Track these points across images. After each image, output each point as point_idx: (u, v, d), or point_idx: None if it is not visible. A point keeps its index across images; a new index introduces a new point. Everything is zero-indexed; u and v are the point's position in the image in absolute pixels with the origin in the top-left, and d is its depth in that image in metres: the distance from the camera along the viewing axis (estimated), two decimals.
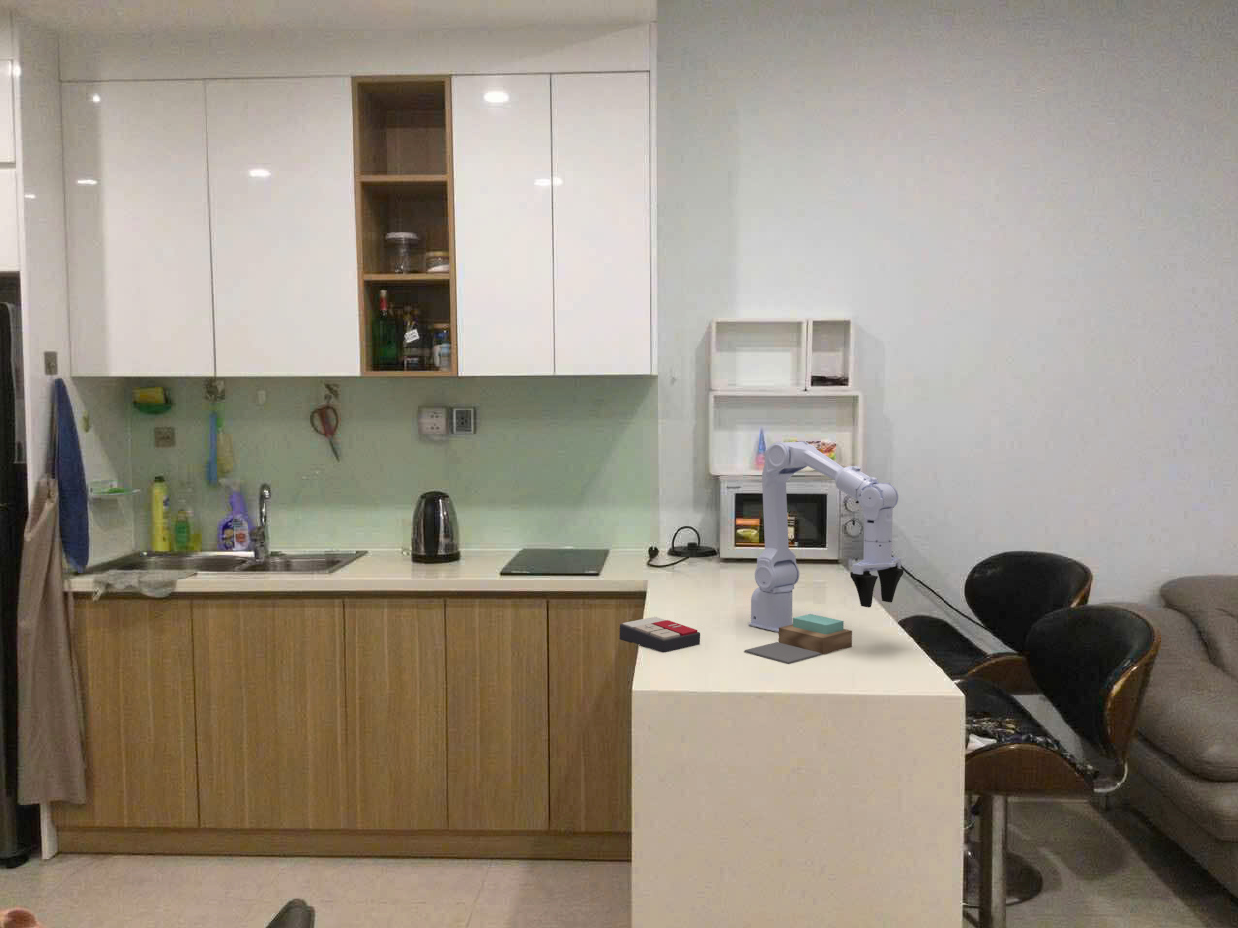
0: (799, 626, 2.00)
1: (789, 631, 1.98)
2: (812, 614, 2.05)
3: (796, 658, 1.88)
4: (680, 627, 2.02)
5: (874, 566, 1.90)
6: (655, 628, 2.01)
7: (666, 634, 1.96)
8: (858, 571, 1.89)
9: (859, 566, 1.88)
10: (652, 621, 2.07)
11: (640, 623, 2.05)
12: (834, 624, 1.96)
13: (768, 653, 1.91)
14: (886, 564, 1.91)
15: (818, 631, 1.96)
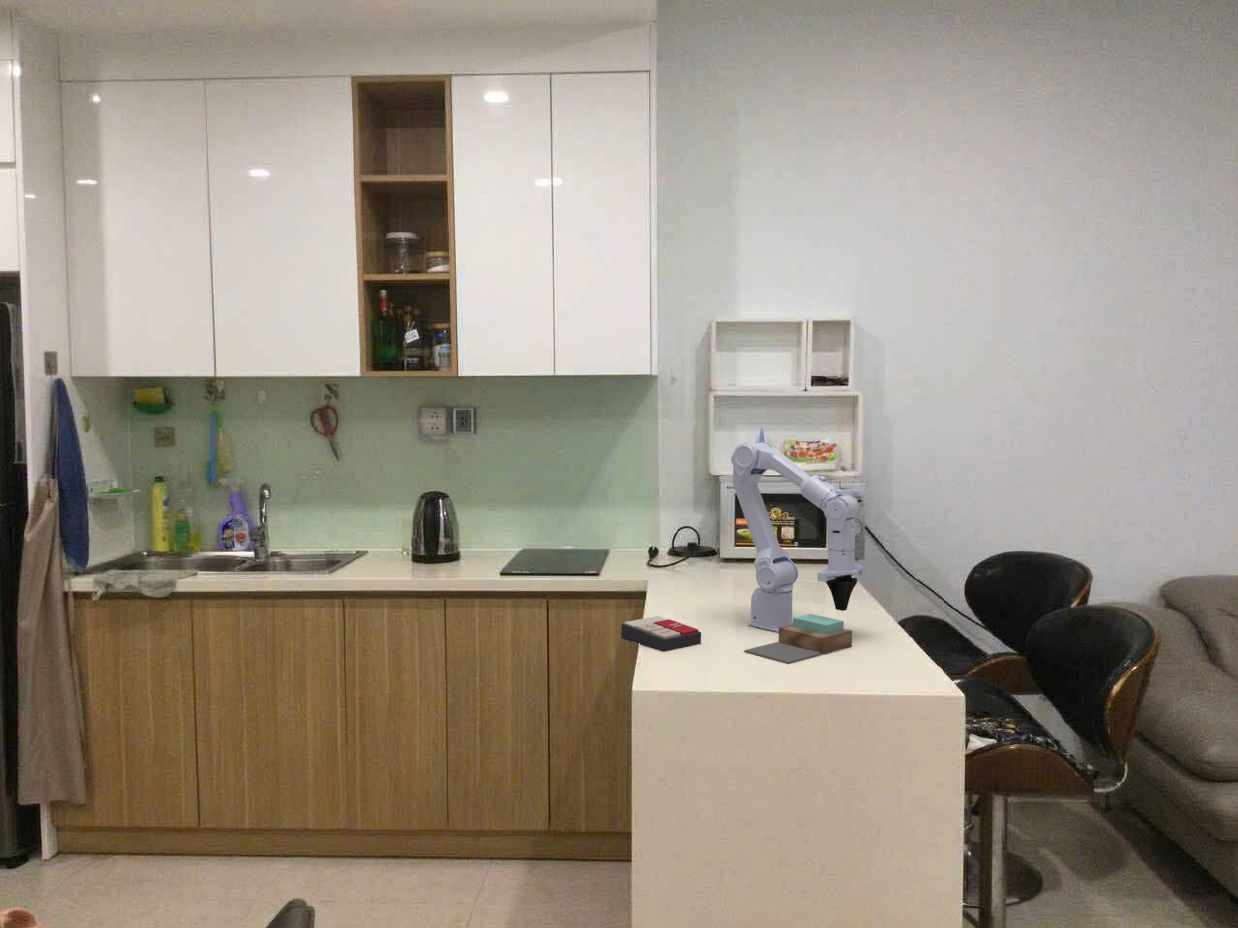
0: (799, 626, 2.00)
1: (789, 631, 1.98)
2: (812, 614, 2.05)
3: (796, 658, 1.88)
4: (681, 626, 2.02)
5: (838, 574, 2.01)
6: (656, 627, 2.01)
7: (666, 633, 1.97)
8: (822, 579, 2.00)
9: (823, 574, 1.99)
10: (654, 620, 2.08)
11: (642, 622, 2.06)
12: (834, 624, 1.96)
13: (768, 653, 1.91)
14: (849, 572, 2.01)
15: (818, 631, 1.96)
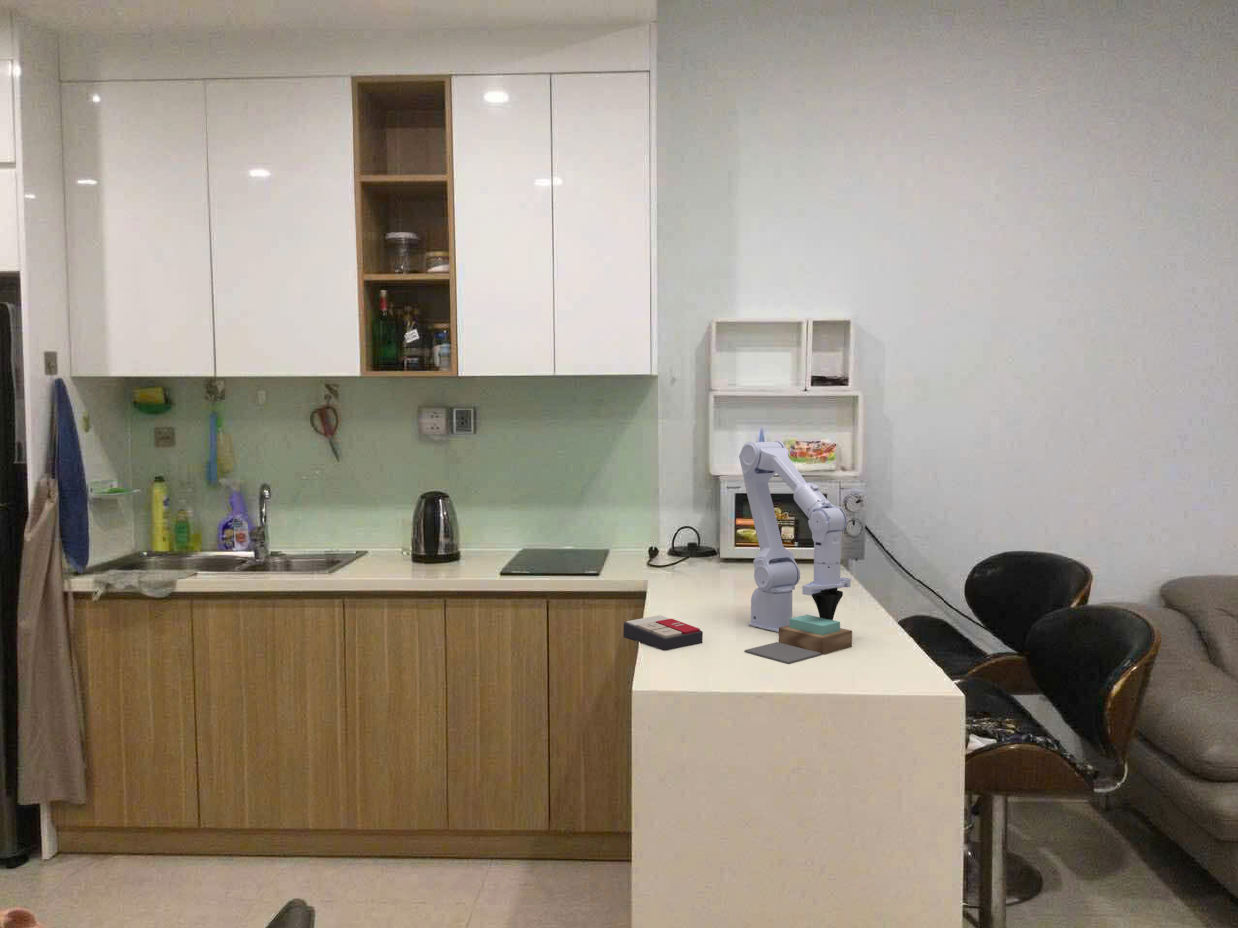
0: (795, 627, 1.99)
1: (789, 631, 1.98)
2: (809, 615, 2.04)
3: (796, 658, 1.88)
4: (683, 626, 2.03)
5: (823, 587, 1.97)
6: (657, 626, 2.02)
7: (668, 632, 1.98)
8: (807, 592, 1.97)
9: (808, 587, 1.96)
10: (656, 619, 2.08)
11: (644, 621, 2.06)
12: (830, 625, 1.96)
13: (768, 653, 1.91)
14: (834, 585, 1.98)
15: (814, 632, 1.95)
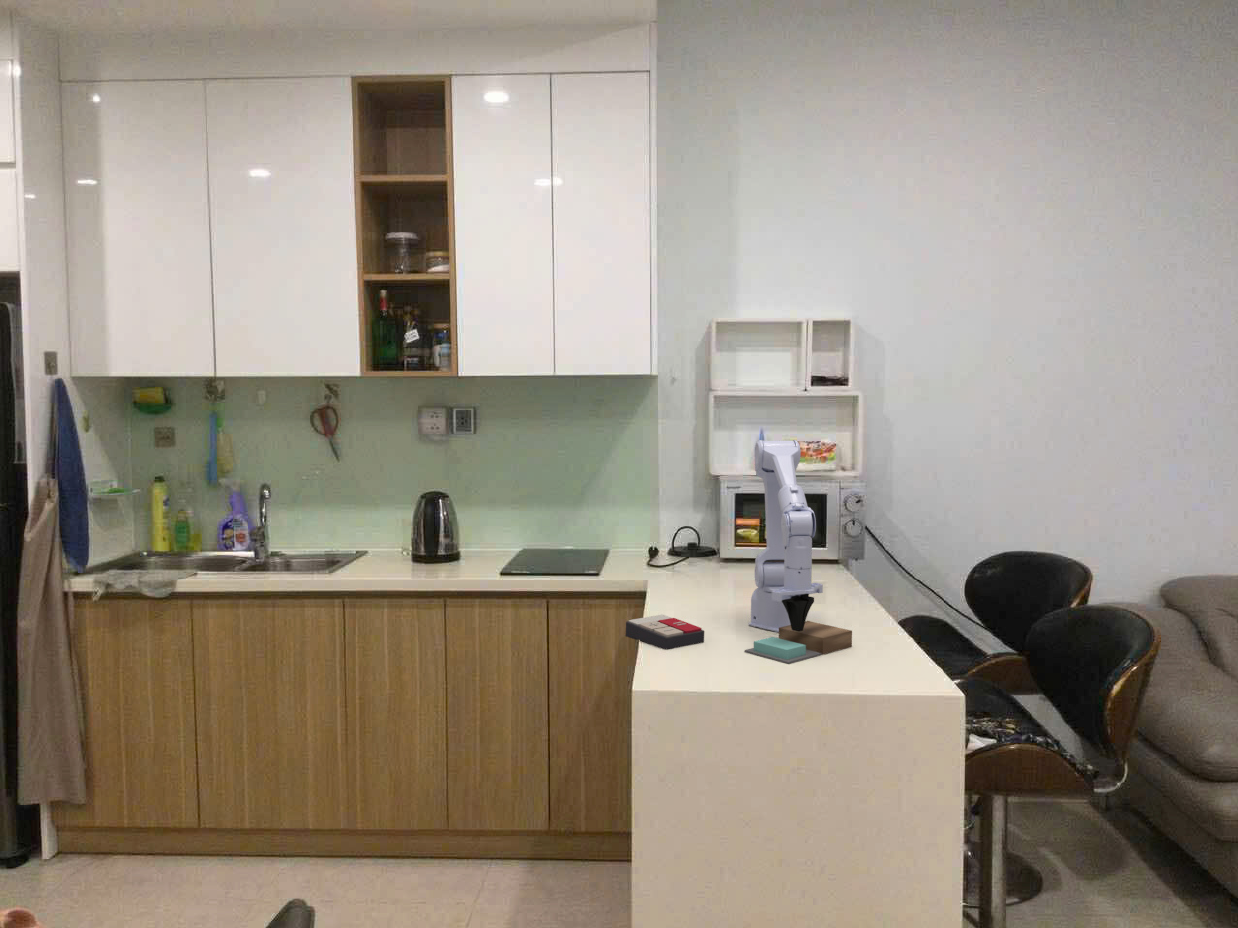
0: None
1: (789, 631, 1.98)
2: (756, 651, 1.93)
3: (796, 658, 1.88)
4: (685, 625, 2.04)
5: (793, 593, 1.91)
6: (659, 625, 2.03)
7: (669, 631, 1.98)
8: (776, 598, 1.90)
9: (777, 593, 1.90)
10: (658, 619, 2.09)
11: (646, 620, 2.07)
12: (797, 655, 1.89)
13: None
14: (805, 591, 1.92)
15: None
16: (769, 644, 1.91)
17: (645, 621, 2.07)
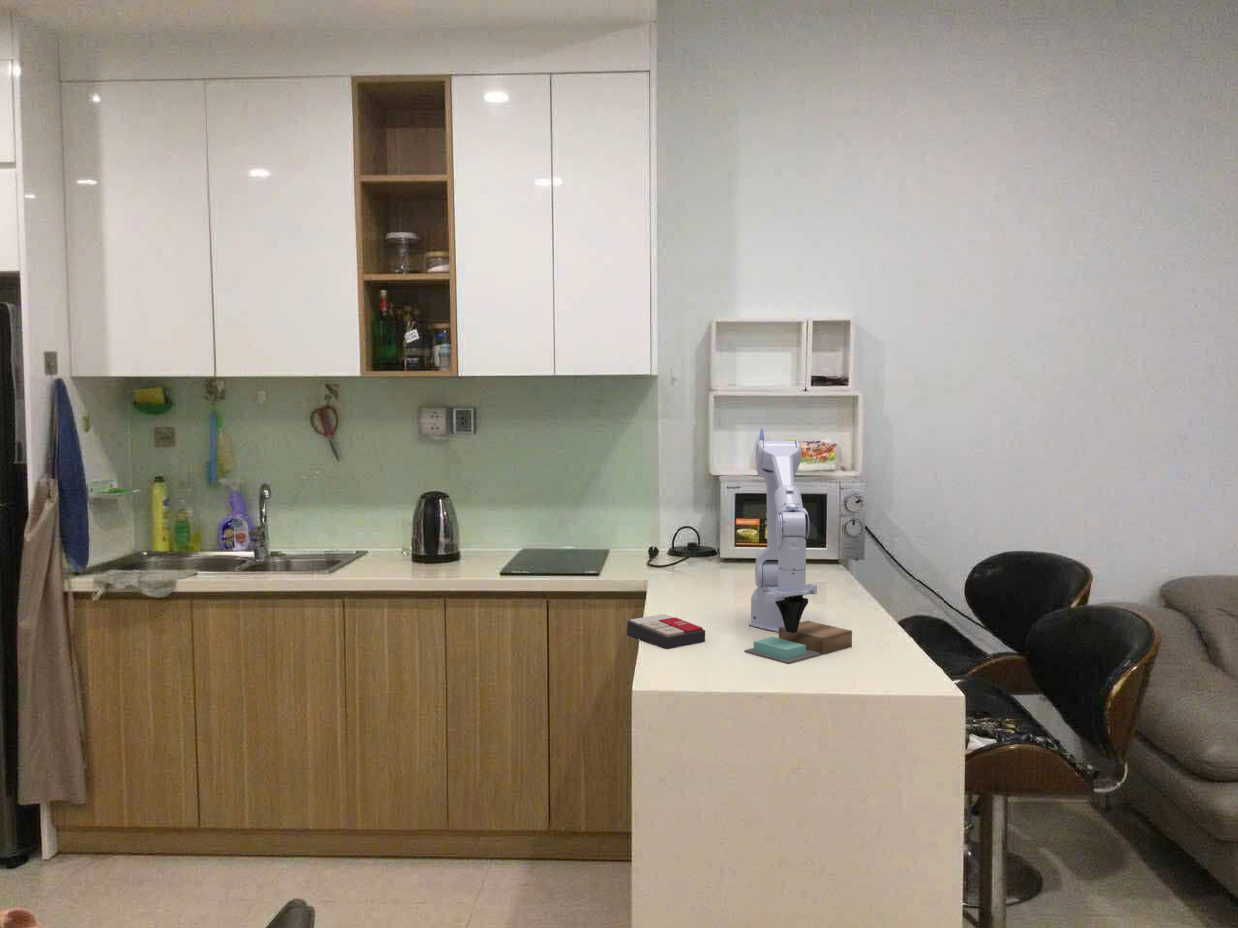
0: None
1: None
2: (756, 651, 1.93)
3: (796, 658, 1.88)
4: (686, 624, 2.04)
5: (787, 594, 1.90)
6: (660, 625, 2.03)
7: (670, 631, 1.99)
8: (770, 600, 1.89)
9: (771, 594, 1.89)
10: (660, 618, 2.10)
11: (647, 620, 2.08)
12: (797, 655, 1.89)
13: None
14: (799, 592, 1.91)
15: None
16: (769, 644, 1.91)
17: (646, 620, 2.07)
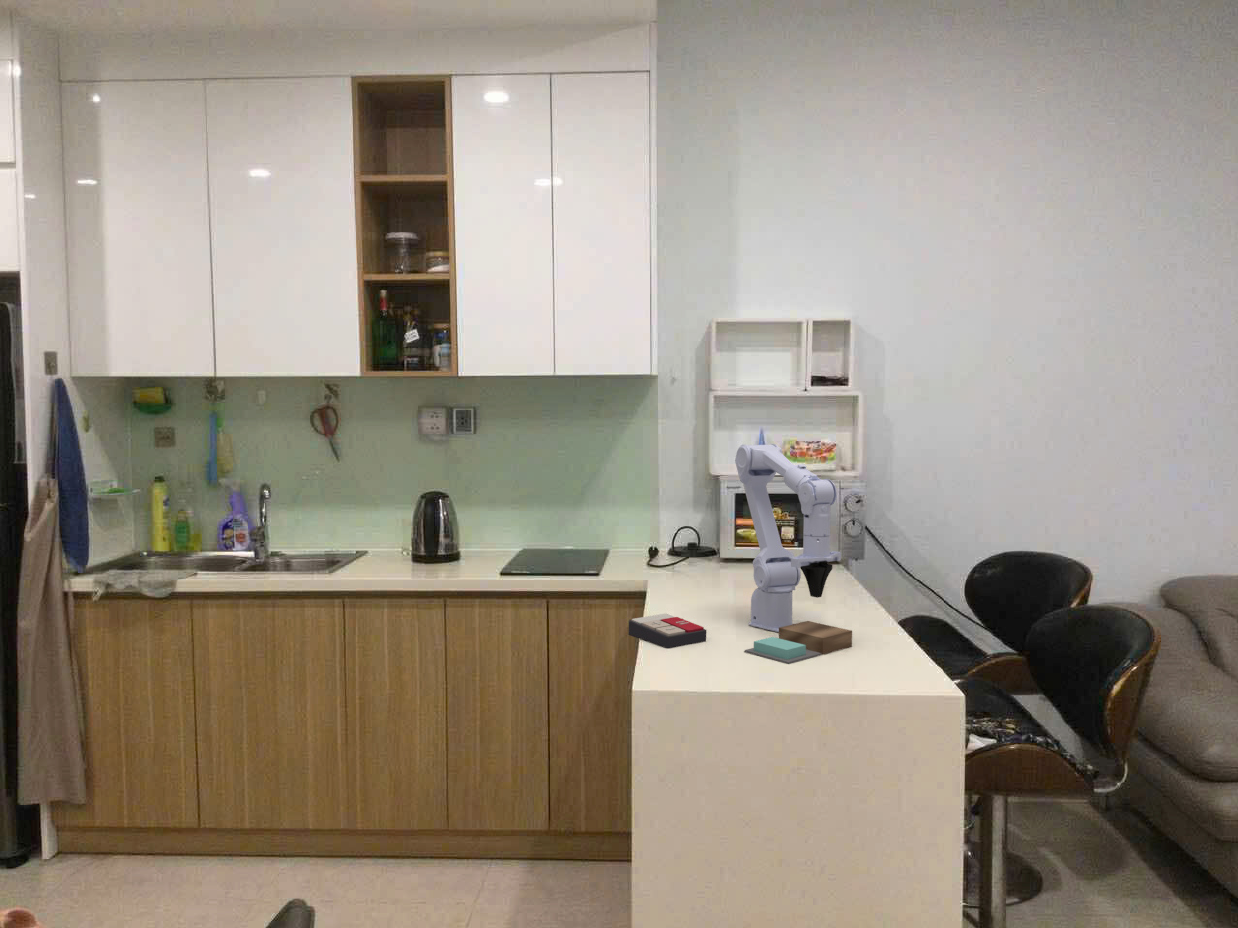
0: None
1: (789, 631, 1.98)
2: (756, 651, 1.93)
3: (796, 658, 1.88)
4: (687, 624, 2.05)
5: (812, 560, 1.96)
6: (662, 624, 2.04)
7: (671, 630, 1.99)
8: (795, 564, 1.95)
9: (796, 559, 1.95)
10: (661, 618, 2.10)
11: (649, 619, 2.08)
12: (797, 655, 1.89)
13: None
14: (824, 558, 1.97)
15: None
16: (769, 644, 1.91)
17: (648, 620, 2.08)
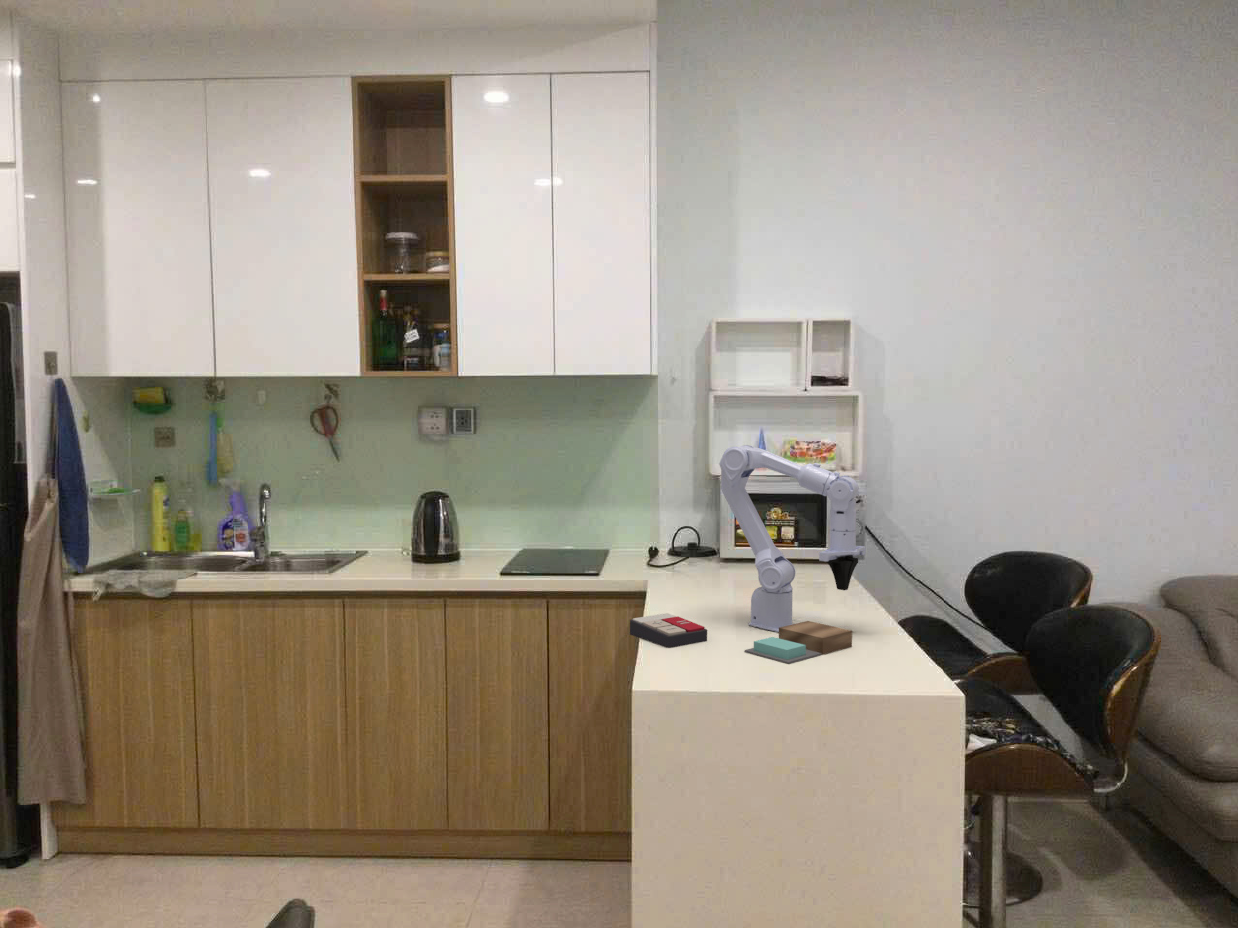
0: None
1: (789, 631, 1.98)
2: (756, 651, 1.93)
3: (796, 658, 1.88)
4: (688, 624, 2.05)
5: (839, 554, 2.04)
6: (663, 624, 2.04)
7: (672, 630, 2.00)
8: (824, 558, 2.03)
9: (825, 554, 2.02)
10: (662, 617, 2.11)
11: (650, 619, 2.09)
12: (797, 655, 1.89)
13: None
14: (850, 552, 2.05)
15: None
16: (769, 644, 1.91)
17: (649, 619, 2.08)
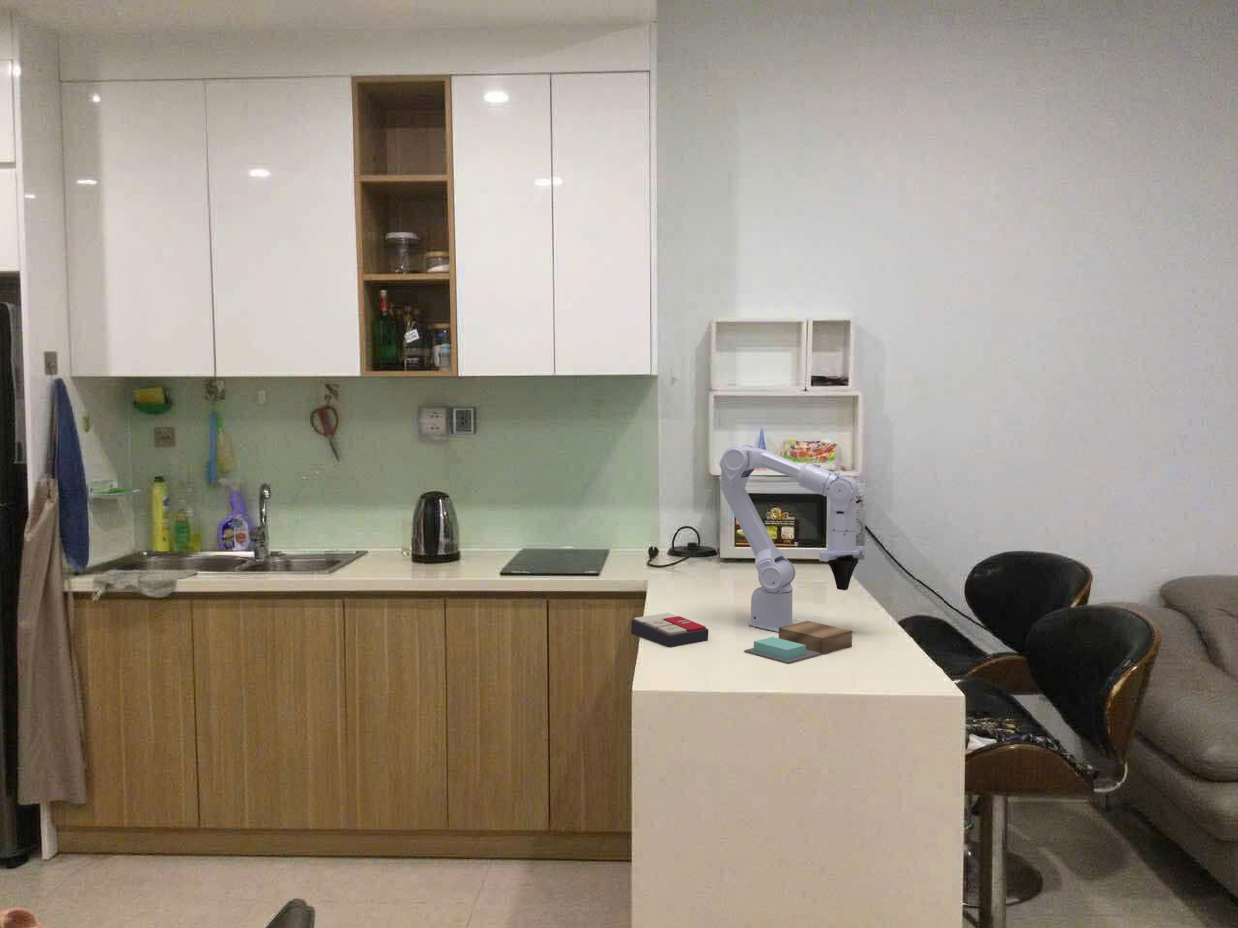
0: None
1: (789, 631, 1.98)
2: (756, 651, 1.93)
3: (796, 658, 1.88)
4: (689, 623, 2.05)
5: (839, 554, 2.04)
6: (664, 623, 2.05)
7: (673, 629, 2.00)
8: (824, 558, 2.03)
9: (825, 554, 2.02)
10: (664, 617, 2.11)
11: (651, 618, 2.09)
12: (797, 655, 1.89)
13: None
14: (850, 552, 2.05)
15: None
16: (769, 644, 1.91)
17: (650, 619, 2.09)
